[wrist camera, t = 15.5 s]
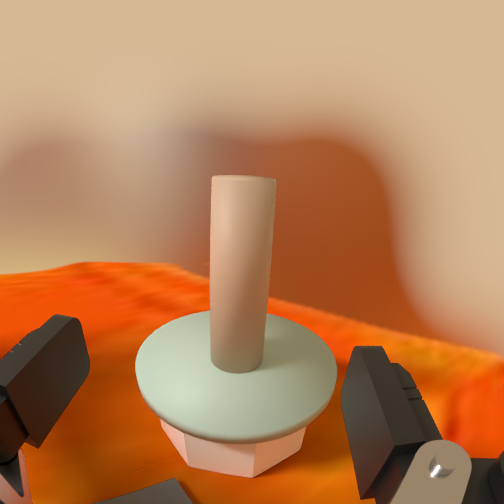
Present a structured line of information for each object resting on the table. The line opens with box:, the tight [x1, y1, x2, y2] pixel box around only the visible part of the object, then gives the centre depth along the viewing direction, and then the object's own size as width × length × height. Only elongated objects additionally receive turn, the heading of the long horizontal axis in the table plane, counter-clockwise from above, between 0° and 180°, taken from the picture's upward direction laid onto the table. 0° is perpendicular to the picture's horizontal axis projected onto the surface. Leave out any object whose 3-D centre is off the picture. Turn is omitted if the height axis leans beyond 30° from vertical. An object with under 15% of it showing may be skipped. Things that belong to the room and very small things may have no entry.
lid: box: [135, 175, 337, 444], centre depth 20 cm, size 14×14×13 cm
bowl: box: [160, 419, 306, 478], centre depth 23 cm, size 11×11×6 cm
